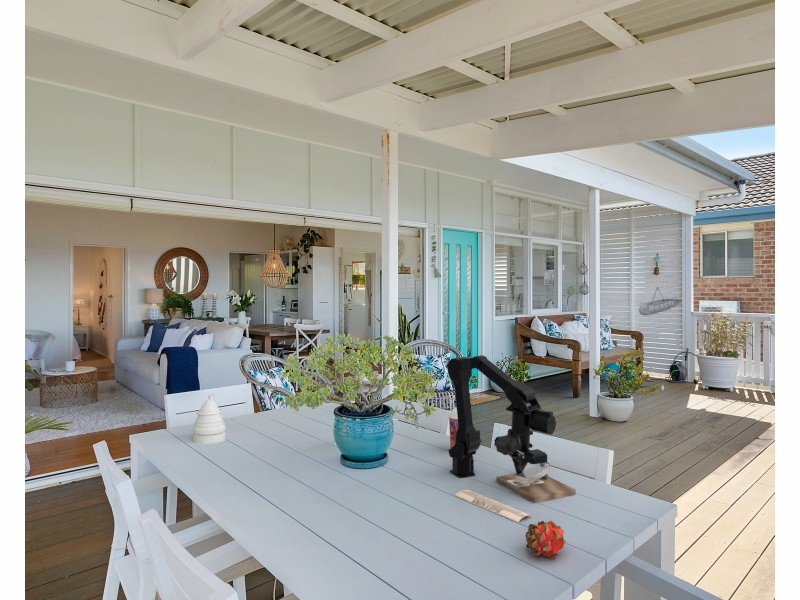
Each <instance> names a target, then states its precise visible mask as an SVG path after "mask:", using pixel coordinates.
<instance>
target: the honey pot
mask: <svg viewBox="0 0 800 600" xmlns="http://www.w3.org/2000/svg"><path fill="white" fill-rule="evenodd" d="M215 395H216V394H208V395H207V397H208V399H206V400H205V401H204V402H203V404H202V406H201V407H200V409H198V410H197V411H196V412H195V413H196V415H197V417H196V419H195V421H194V426H193V427H192V442H193V443H195V444H197V445H198V444H199V445H210V444H211V445H212V444H217V443H221V442H224V441H225V440H226V439H227V435H226V434H227V432H226V427H227V426H226V424H225V420H224V417H223V416H222V412H223V410H222V409H221V408H219V406H218V405H217V403H216V401H214V398H215Z"/></svg>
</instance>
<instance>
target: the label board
mask: <svg viewBox="0 0 800 600" xmlns="http://www.w3.org/2000/svg"><path fill="white" fill-rule="evenodd" d="M516 475H517V474H516V473H511V474H505V475H500V476H496V482H497V483H498V484H500V485H502V486H504V487H505V488H507V489H509V490H511V491H512V492H514V493H515V494H518V495H519V496H522V497H523V498H525V499H526V500H528V501H529V502H531V503H533V504H537V503H543V502H547V501H552V500H556V499H561V498H566V497H571V496H575V495H576V494H577V489H576V488H573V487H571V486H569V485H567V484H565V483H563V482H561V481H558V480H557V479H555V478H552V477H551V476H549V473H548V474H547V475H545V476H543V477H541V478H540V479H538V480H536V481H534V482H533V483H531V484H529V485H526V484H522V483H518V482H516Z"/></svg>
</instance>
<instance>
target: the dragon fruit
mask: <svg viewBox="0 0 800 600" xmlns="http://www.w3.org/2000/svg"><path fill="white" fill-rule="evenodd" d="M564 533H565V532H564V530H563V527H561V525H557V524H556V523H555V522H554V521H552V520H549V521H548V522H547V521H544V520H540V521H538V522H537V523H530V524H528V528H527V531H526V532H525V540H526V542H527V543H526V545H525V546H526V549H528V550H531V551H532V554H533V556H538V557H539V558H541V559H542V558H543V557H545V556H546V557H548V558H550V559H553V560H554V559H557V555H559V552H561V551H562V549H563V548H564V546H565V543H566V540H565V539H564Z"/></svg>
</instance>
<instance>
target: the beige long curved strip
mask: <svg viewBox="0 0 800 600" xmlns="http://www.w3.org/2000/svg"><path fill="white" fill-rule="evenodd" d="M454 496H455V497H456V498H459V499H461V500H463V501H466V502H468V503H471V504H472V505H475V506H477V507H480V508H482V509H484V510H487V511H489V512H491V513H493V514H496V515H497V516H498V515H499V516H501V517H504V518H506V519H508V520H510V521H513V522H515V523H517V524H519V523H520V521H521V520H522V519H523V518H525V517H527V518H532V517H533V515H532V514H530V513H527V512H525V511H522V510H520V509H518V508H514V507H512V506H510V505H507V504H505V503H502V502H501V501H497V500H494V499H492V498H489V497H487V496H484V495H482V494H479V493H477V492H475V491H473V490H471V489H470V490H469V489H462V490H460V491H458V492H457V493H456V494H455V495H454Z"/></svg>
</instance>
